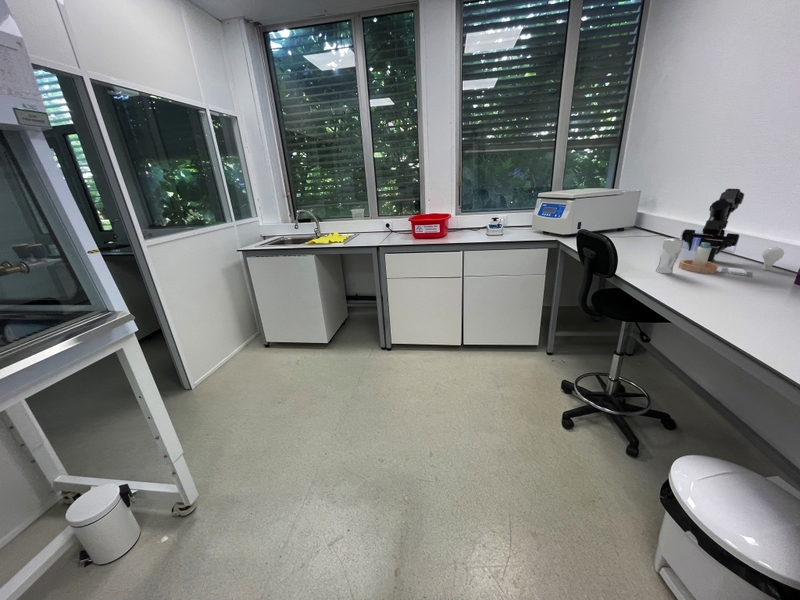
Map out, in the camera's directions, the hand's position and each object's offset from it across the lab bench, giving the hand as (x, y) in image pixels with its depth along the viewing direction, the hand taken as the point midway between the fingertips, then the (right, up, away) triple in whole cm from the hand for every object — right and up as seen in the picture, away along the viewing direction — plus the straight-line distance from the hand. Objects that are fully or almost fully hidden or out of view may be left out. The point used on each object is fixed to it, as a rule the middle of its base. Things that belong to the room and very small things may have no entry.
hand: (702, 252), depth 144 cm
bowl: (+1, -8, +4) cm, 9 cm away
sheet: (+14, -9, -2) cm, 17 cm away
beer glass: (-16, -9, +2) cm, 18 cm away
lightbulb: (+30, -8, +1) cm, 31 cm away
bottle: (+1, -7, +4) cm, 8 cm away
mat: (+14, -10, -1) cm, 17 cm away
